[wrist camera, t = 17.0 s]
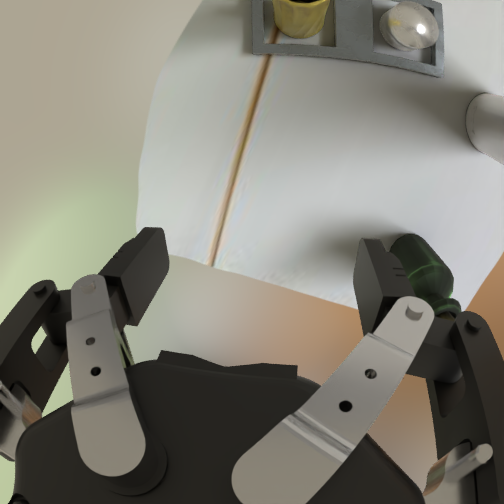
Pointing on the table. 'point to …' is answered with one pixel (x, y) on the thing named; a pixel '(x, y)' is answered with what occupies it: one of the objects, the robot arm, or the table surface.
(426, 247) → the potion bottle
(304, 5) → the vase
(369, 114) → the table surface
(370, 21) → the grey rectangular frame
